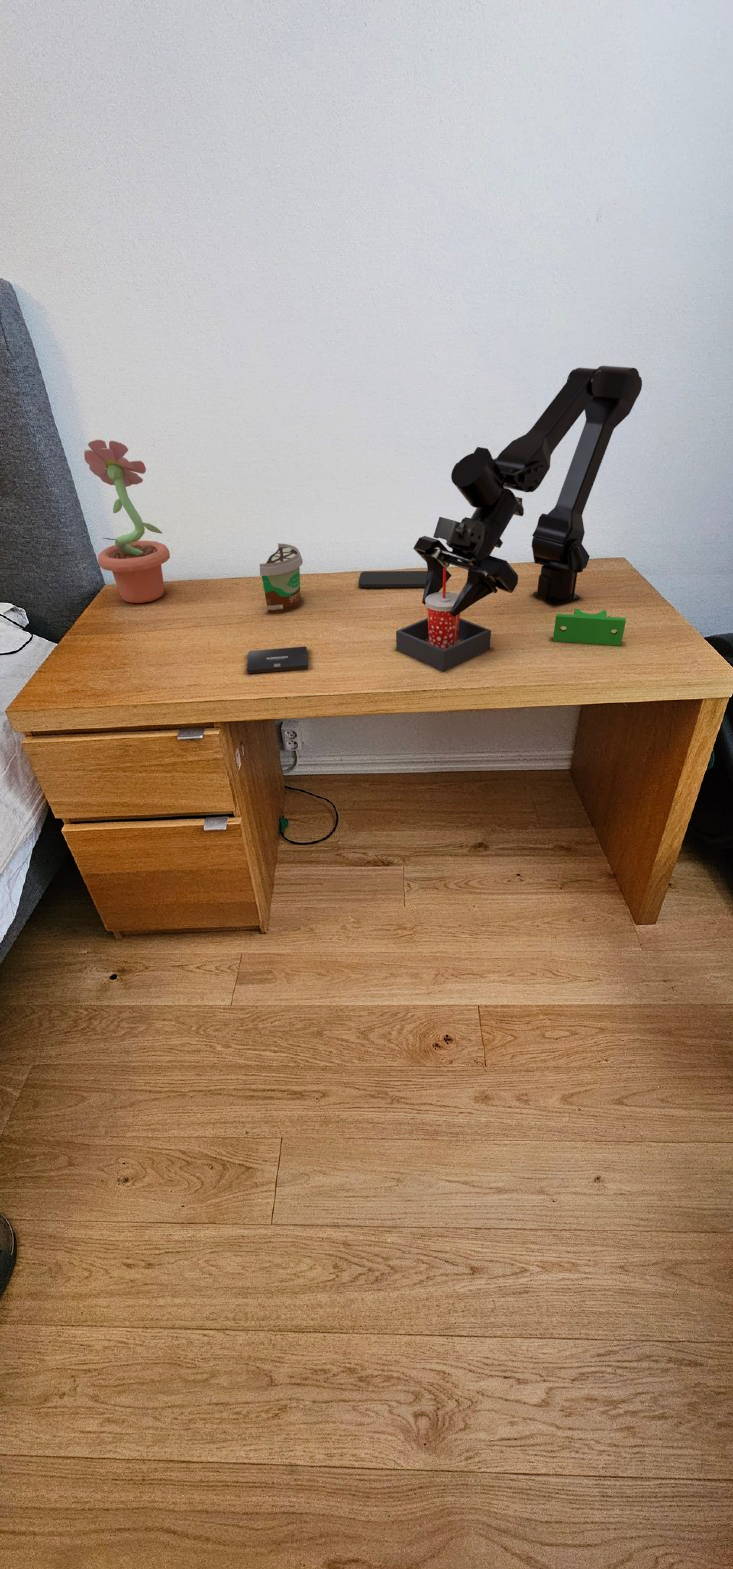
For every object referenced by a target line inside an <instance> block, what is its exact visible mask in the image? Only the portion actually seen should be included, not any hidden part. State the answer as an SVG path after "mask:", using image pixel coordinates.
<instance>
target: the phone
mask: <svg viewBox="0 0 733 1569" xmlns="http://www.w3.org/2000/svg"><path fill="white" fill-rule="evenodd" d="M427 571H428V570H381V571H379V570H376V571H375V570H374V571H373V570H372V571H369V570H368V571H361V572H360V574H359V578H358V587H360V588H363V589H365V588H367V589H369V588H370V589H371V588H425V584H426V579H427Z"/></svg>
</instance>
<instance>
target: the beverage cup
mask: <svg viewBox="0 0 733 1569" xmlns="http://www.w3.org/2000/svg"><path fill="white" fill-rule="evenodd" d="M446 570H447V569H446V568H443V587H442V591H439V592H438V593H433V594H430V595H428V596H427V597H426V599H425V602H426V604H425V605H424V606H426V614H427V617H426V618H428V635H429V638H428V643H430V644H432V645H434V646H436V647H439V648H441V649H443V650H444V649H447V648H449V647H451V646H453V645H455V644H457V643H458V639H459V638H458V629H459V619H460V618H461V613H459V614H458V615H457V616H455V617H454V616H452V615H451V614H450V612H451V610H452V608H453V605H454V603H455V602H456V600H457V598H458V596H459V595H460V594H458V593H456V592H451V591H447V582H446Z"/></svg>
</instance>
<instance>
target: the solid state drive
mask: <svg viewBox="0 0 733 1569" xmlns="http://www.w3.org/2000/svg"><path fill="white" fill-rule="evenodd" d="M308 661H309V660H308V647H307V646H305V645H304V646H293V647H280V648H270V649H260V650H259V649H257V650H249V651H248V653H247V664H246V672H247V674H255V673H256V674H259V673H270V672H281V671H282V672H283V671H294V670H295V671H296V670H305V669H308V668H309V663H308Z"/></svg>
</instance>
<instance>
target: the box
mask: <svg viewBox="0 0 733 1569" xmlns="http://www.w3.org/2000/svg"><path fill="white" fill-rule="evenodd" d="M395 633H396V634H395V642H396V643H395V644H396V646H395V647H396V651H398V652H400V653H402V654H404V655H407V656H409V657H411V658H413V659H415V660H418V661H420V662H422V663H424V664H426V665H428V666H431V667H433V668H435V669H437V670H439V671H441V672H446V671H447V670H450V669H452V668H454V667H456V666H458V665H460V664H462V663H464V662H466V661H468V660H471V659H473V658H474V657H476V656H479V655H481V654H483V653H485V652H487V651H489V650H491V638H492V630H491V629H489V628H487V627H484V626H482V625H478V624H476V623H474V622H471V621H469V620H466V619H464V618H461V617H460V619H459V629H458V639H459V640H462V641H459V642H457V644H455V645H453V646H451V647H449V648H447V649H444V650H443V649H441V648H439V647H436V646H434V645H432V644H430V643H429V642H428V641H425V640H426V639H429V635H428V617H426V618H424V619H421V620H419V621H416V622H413V623H411V624H409V625H407V626H405V627H401V628H400V629H397V630H396V631H395Z"/></svg>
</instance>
